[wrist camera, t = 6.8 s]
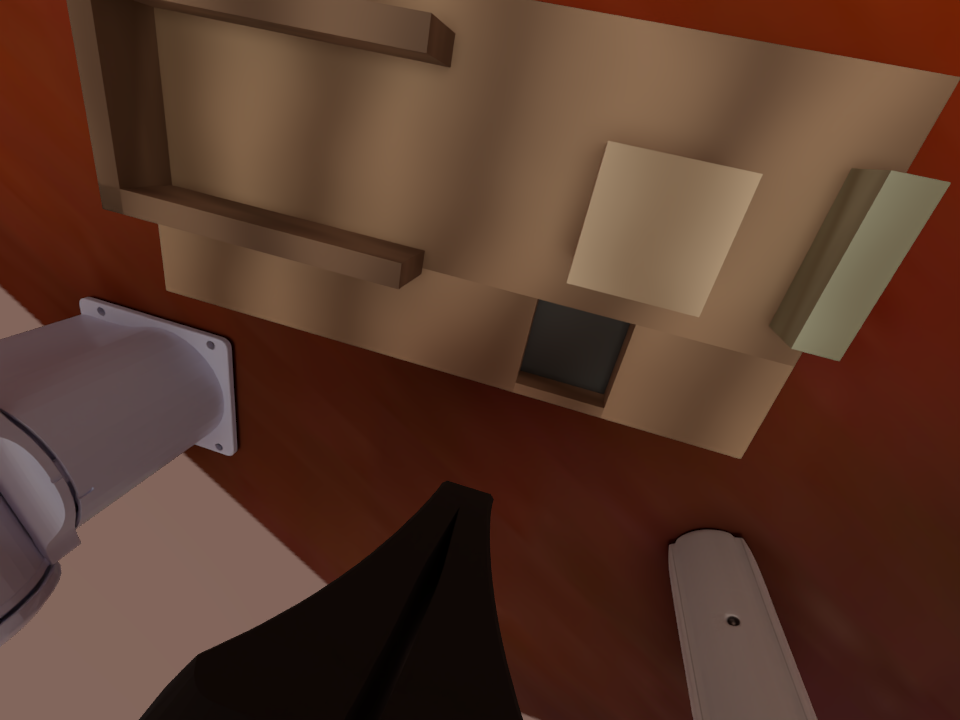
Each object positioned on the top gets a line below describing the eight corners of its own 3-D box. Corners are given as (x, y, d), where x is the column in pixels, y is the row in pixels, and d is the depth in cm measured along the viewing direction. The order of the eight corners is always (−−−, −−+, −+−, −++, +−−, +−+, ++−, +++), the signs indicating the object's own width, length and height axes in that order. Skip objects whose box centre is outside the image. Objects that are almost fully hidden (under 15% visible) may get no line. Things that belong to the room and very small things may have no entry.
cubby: (155, 202, 21) (102, 208, 19) (126, -31, 17) (56, -58, 15) (421, 274, 19) (398, 289, 17) (455, 33, 15) (431, 12, 13)
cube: (572, 256, 17) (566, 283, 14) (606, 144, 16) (608, 140, 12) (677, 283, 17) (699, 317, 13) (724, 169, 15) (763, 174, 12)
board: (190, 282, 24) (125, 303, 21) (157, -57, 18) (57, -105, 14) (731, 439, 20) (756, 493, 17) (927, 84, 14) (1025, 63, 11)
